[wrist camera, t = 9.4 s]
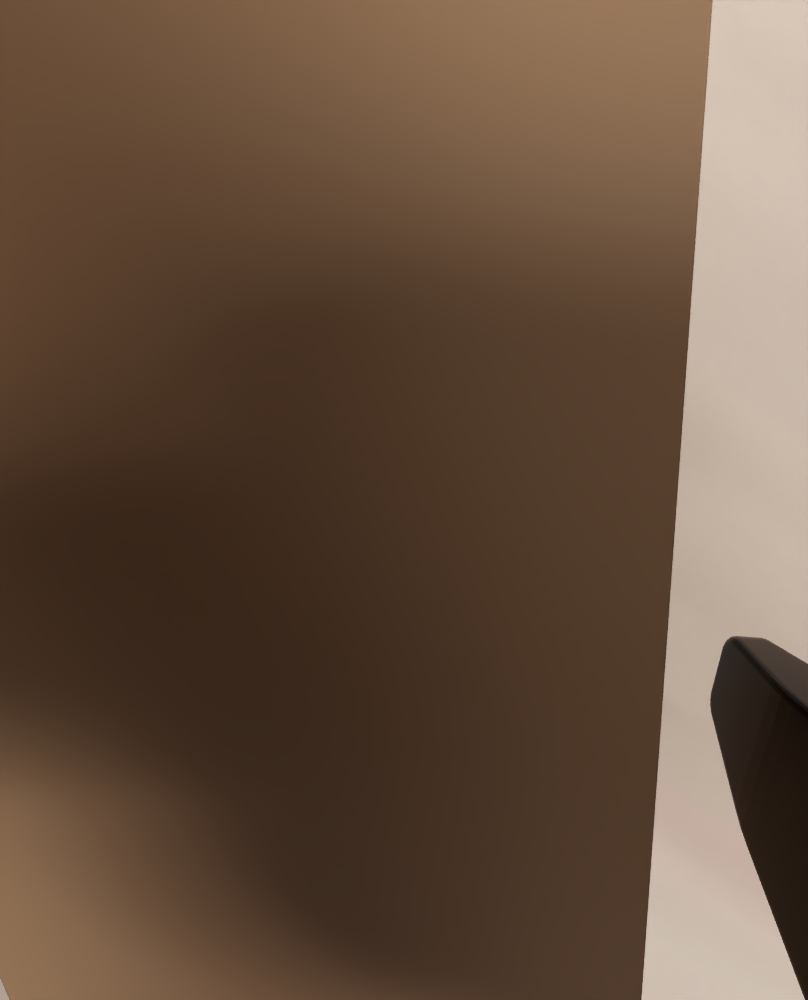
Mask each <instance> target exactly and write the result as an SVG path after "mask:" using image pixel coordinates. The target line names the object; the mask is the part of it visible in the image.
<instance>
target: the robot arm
mask: <svg viewBox="0 0 808 1000" xmlns="http://www.w3.org/2000/svg"><path fill="white" fill-rule="evenodd" d="M710 706H711V713H712V718H713V721H714V725H715V729H716V733H717V737H718V741H719V745H720V749H721V753H722V757H723V761H724V765H725V769H726V773H727V777H728V781H729V785H730V789H731V793H732V797H733V801H734V805H735V809H736V813H737V816H738V820H739V823H740V827H741V830H742V833H743V836H744V838H745V841H746V844H747V847H748V850H749V852H750V855H751V858H752V860H753V863H754V866H755V868H756V871H757V874H758V876H759V879H760V882H761V884H762V887H763V890H764V892H765V895H766V897H767V900H768V903H769V905H770V908H771V911H772V913H773V916H774V919H775V921H776V924H777V927H778V929H779V932H780V935H781V937H782V940H783V943H784V945H785V948H786V950H787V953H788V956H789V958H790V961H791V964H792V966H793V969H794V972H795V974H796V977H797V980H798V982H799V985H800V988H801V990H802V993H803V996H804V998H805V1000H808V664H807V663H805V662H804V661H802V660H800V659H799V658H797V657H795V656H794V655H792V654H790V653H789V652H787V651H785V650H784V649H782V648H780V647H778V646H777V645H775V644H773V643H772V642H770V641H768V640H766V639H763V638H754V637H740V636H733V637H731V638H729V639H728V640H727V641H726V643H725V644H724V646H723V649H722V653H721V657H720V661H719V665H718V668H717V672H716V676H715V680H714V684H713V688H712V692H711V699H710Z"/></svg>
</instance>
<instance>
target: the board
mask: <svg viewBox="0 0 808 1000" xmlns="http://www.w3.org/2000/svg"><path fill="white" fill-rule="evenodd" d="M711 14H712V0H0V978H1V980H2V983H3V985H4V987H5V990H6V992H7V994H8V996H9V999H10V1000H641V996H642V982H643V968H644V954H645V940H646V926H647V912H648V898H649V884H650V870H651V856H652V842H653V828H654V814H655V800H656V786H657V772H658V758H659V744H660V730H661V716H662V701H663V687H664V673H665V659H666V645H667V631H668V617H669V603H670V589H671V575H672V561H673V547H674V533H675V519H676V505H677V491H678V477H679V463H680V449H681V435H682V421H683V407H684V393H685V379H686V365H687V351H688V337H689V322H690V308H691V294H692V280H693V266H694V252H695V238H696V224H697V210H698V196H699V182H700V168H701V154H702V140H703V126H704V112H705V98H706V84H707V70H708V56H709V42H710V28H711Z"/></svg>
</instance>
